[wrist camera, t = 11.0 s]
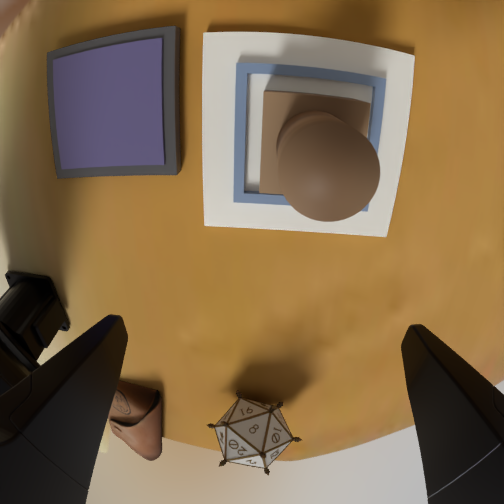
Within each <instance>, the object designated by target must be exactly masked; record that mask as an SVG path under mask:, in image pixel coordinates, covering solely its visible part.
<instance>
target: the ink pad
mask: <svg viewBox="0 0 504 504" xmlns="http://www.w3.org/2000/svg"><path fill="white" fill-rule="evenodd" d="M179 63H180V28H179V27H177V26H168V27H160V28H152V29H145V30H139V31H133V32H127V33H122V34H116V35H111V36H107V37H102V38H98V39H93V40H89V41H85V42H81V43H78V44H74V45H70V46H67V47H63V48H60V49H57V50H54V51H50V52H47V87H48V105H49V118H50V129H51V138H52V146H53V154H54V161H55V167H56V174H57V179H59V178H76V177H97V176H128V175H178V173H179V172H180V171H181V151H180V109H179Z"/></svg>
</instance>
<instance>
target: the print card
mask: <svg viewBox="0 0 504 504" xmlns="http://www.w3.org/2000/svg"><path fill="white" fill-rule="evenodd" d="M414 60H415V56H414V55H410V54H407V53H403V52H399V51H395V50H391V49H386V48H382V47H377V46H373V45H368V44H363V43H357V42H352V41H346V40H339V39H333V38H325V37H317V36H309V35H298V34H286V33H269V32H207V33H204V34H203V75H202V152H203V197H204V225H205V226H219V227H239V228H258V229H275V230H292V231H308V232H323V233H338V234H352V235H366V236H379V237H386V236H387V232H388V228H389V224H390V220H391V215H392V211H393V206H394V202H395V197H396V192H397V187H398V182H399V177H400V172H401V166H402V161H403V155H404V149H405V142H406V136H407V129H408V121H409V113H410V105H411V96H412V86H413V74H414ZM264 90H277V91H291V92H303V93H314V94H323V95H331V96H339V97H346V98H353V99H357V100H361V101H365V102H368V103H371V106H370V115H369V124H368V133H367V139H368V140H369V141H370V142H371V144H372V145H373V147H374V149H375V151H376V153H377V155H378V159H379V163H380V180H379V185H378V188H377V190H376V193H375V194H374V196H373V198H372V199H371V201H370V202H369V203H368V204H367V206H366V207H365V208H363V209H362V210H361V211H360V212H358V213H357V214H355V215H353V216H351V217H349V218H347V219H344V220H340V221H334V222H323V221H317V220H313V219H310V218H308V217H305V216H304V215H302V214H300V213H299V212H297V211H296V210H295V209H294V208H293V207H292V206H291V205H290V204H289V203H288V201H287V200H286V198H285V197H284V195H283V194H268V193H259V185H260V162H261V139H262V115H263V92H264Z"/></svg>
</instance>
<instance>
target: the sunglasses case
mask: <svg viewBox="0 0 504 504" xmlns="http://www.w3.org/2000/svg"><path fill="white" fill-rule="evenodd" d="M161 411H162V400H161V396H160V394H159V392H158V390H154V389H150V388H146V387H142V386H138V385H135V384H131V383H127V382H124V381H120V380H119V383H118V386H117V389H116V392H115V396H114V399H113V402H112V405H111V408H110V412H109V415H108V418H109V423H110V426H111V429H112V432H113V433H114V434H115V435H116V436H117V437H119V438H120V439H122V440H123V441H124V442H125V443H126V444H127V445H128V446H129V447H130V448H131V449H132V450H134V451H135V452H136V453H137V454H139V455H140V456H142V457H143V458H145V459H147V460H150V461H152V460H155V459H157V458H158V457H159V456H160V454H161V453H162V429H161V424H162V422H161V421H162V419H161V417H162V413H161Z"/></svg>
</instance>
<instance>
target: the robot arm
mask: <svg viewBox="0 0 504 504" xmlns="http://www.w3.org/2000/svg"><path fill="white" fill-rule="evenodd" d="M5 276H6V279H7V282H8V284H9V286H10V288H9V289H8V290H7V291H6V292H5V293H4V294H3V296H2V297H1V298H0V504H86V499H87V494H88V489H89V486H90V481H91V477H92V473H93V469H94V465H95V461H96V457H97V454H98V450H99V446H100V443H101V439H102V436H103V432H104V429H105V425H106V422H107V418H108V415H109V412H110V408H111V405H112V402H113V399H114V396H115V392H116V389H117V386H118V383H119V379H120V374H121V369H122V365H123V360H124V355H125V351H126V346H127V342H128V334H127V331H126V328H125V324H124V321H123V318H122V317H121V316H120V315H112V314H110V315H108V316H106V317H105V318H103V319H102V320H101V321H99V322H98V323H97V324H95V325H94V326H93V327H91V328H90V329H89V330H87V331H86V332H85V333H83V334H82V335H81V336H79V337H78V338H77V339H75V340H74V341H73V342H71V343H70V344H69V345H67V346H66V347H65V348H63V349H62V350H61V351H59V352H58V353H57V354H55V355H54V356H53V357H52V358H50V359H49V360H48V361H46V362H45V363H44V364H42V365H40V364H39V363H38V362H37V360H38V358H39V356H40V355H41V353H42V351H43V350H44V348H48V346H49V345H50V343H51V341H52V340H53V338H54V337H55V335H56V333H57V332H58V330H62V331H68V330H69V328H70V325H69V323H68V321H67V318H66V316H65V313H64V311H63V309H62V306H61V303H60V301H59V298H58V296H57V293H56V290H55V288H54V285H53V282H52V280H51V279H50V278H49V277H47V276H41V275H34V274H27V273H20V272H13V271H8V272H7V273H6V274H5ZM401 351H402V358H403V364H404V371H405V378H406V385H407V391H408V395H409V400H410V404H411V408H412V413H413V417H414V422H415V426H416V431H417V436H418V441H419V447H420V452H421V458H422V463H423V470H424V476H425V483H426V489H427V496H428V504H504V394H502V393H501V392H500V391H499V390H498V389H497V388H496V387H495V386H493V385H492V384H491V383H490V382H489V381H488V380H487V379H486V378H484V377H483V376H482V375H481V374H480V373H479V372H478V371H476V370H475V369H474V368H473V367H472V366H471V365H470V364H468V363H467V362H466V361H465V360H464V359H463V358H462V357H460V356H459V355H458V354H457V353H456V352H455V351H453V350H452V349H451V348H450V347H449V346H447V345H446V344H445V343H444V342H443V341H441V340H440V339H439V338H438V337H437V336H436V335H434V334H433V333H432V332H431V331H429V330H428V329H427V328H426V327H425V326H423V325H422V324H413V325H410V326H409V328H408V330H407V332H406V334H405V337H404V339H403V341H402V344H401Z"/></svg>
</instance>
